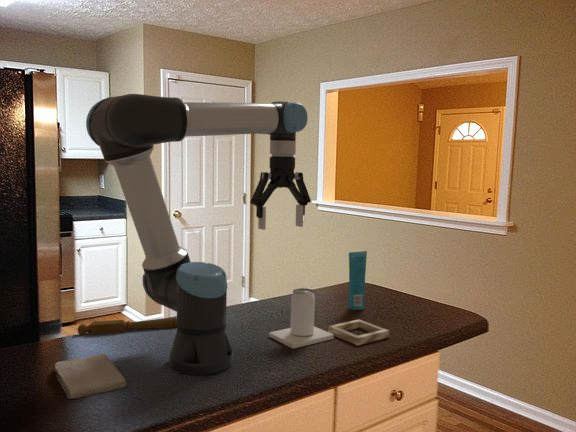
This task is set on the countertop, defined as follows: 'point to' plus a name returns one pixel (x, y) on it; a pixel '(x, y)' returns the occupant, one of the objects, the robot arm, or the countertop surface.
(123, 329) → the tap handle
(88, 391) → the washcloth
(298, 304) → the can
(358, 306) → the tube
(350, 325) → the holder
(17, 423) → the countertop surface
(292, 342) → the trivet
